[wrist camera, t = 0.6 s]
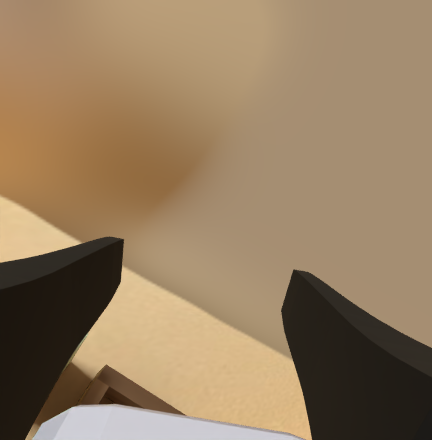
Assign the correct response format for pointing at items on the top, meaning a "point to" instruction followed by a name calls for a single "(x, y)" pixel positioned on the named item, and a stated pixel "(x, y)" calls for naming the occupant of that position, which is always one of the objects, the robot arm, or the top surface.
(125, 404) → the socket block
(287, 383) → the top surface
